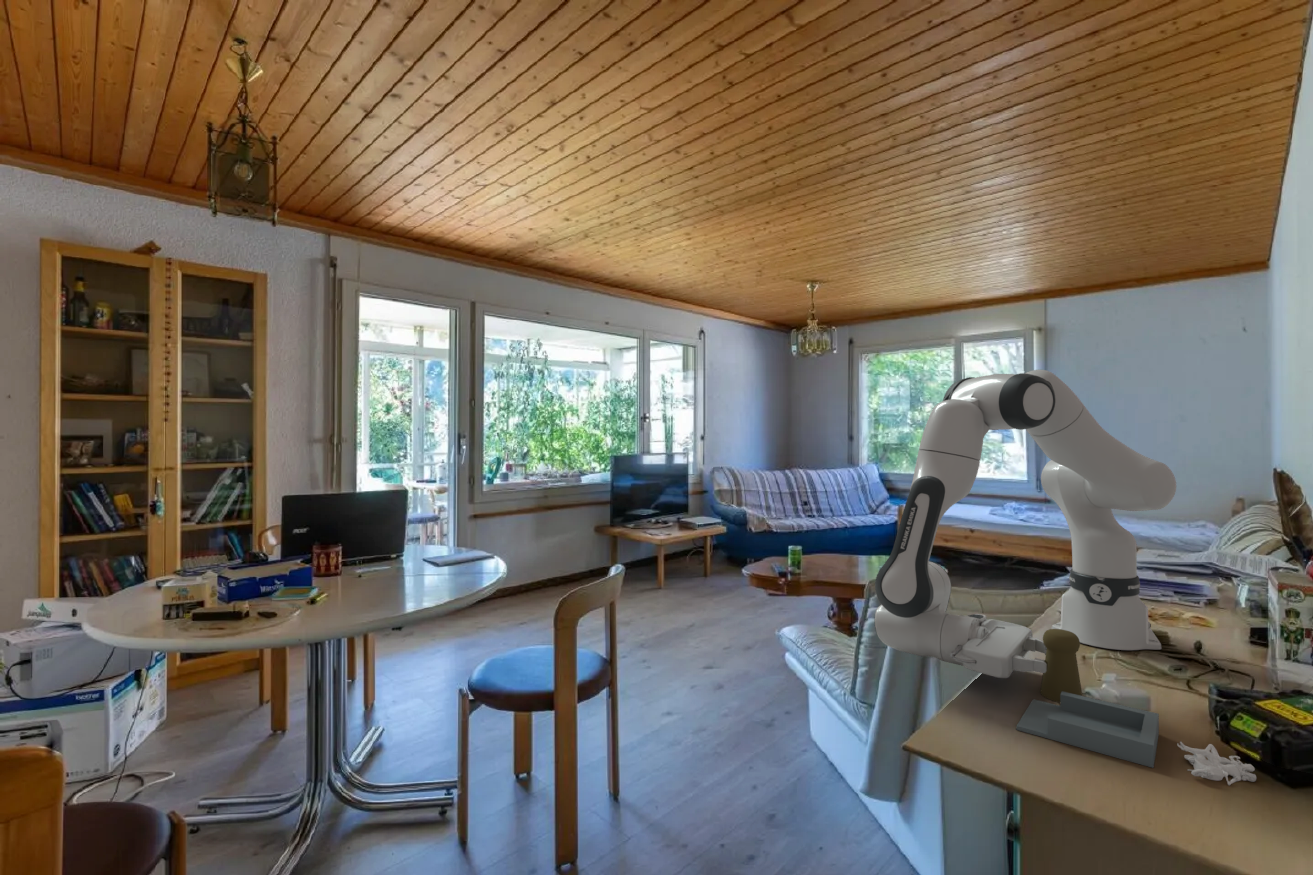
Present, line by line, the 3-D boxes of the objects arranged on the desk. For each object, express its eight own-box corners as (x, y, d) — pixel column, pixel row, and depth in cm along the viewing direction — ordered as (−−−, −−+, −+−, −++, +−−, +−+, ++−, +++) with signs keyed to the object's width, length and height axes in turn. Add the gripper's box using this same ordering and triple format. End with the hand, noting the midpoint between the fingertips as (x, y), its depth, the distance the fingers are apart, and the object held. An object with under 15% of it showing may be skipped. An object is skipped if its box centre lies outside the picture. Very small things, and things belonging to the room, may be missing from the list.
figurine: (1250, 772, 81) (1268, 800, 75) (1174, 754, 86) (1185, 779, 79) (1251, 749, 81) (1268, 774, 75) (1175, 732, 86) (1185, 755, 79)
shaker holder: (1033, 702, 101) (1033, 684, 101) (1158, 733, 90) (1158, 713, 90) (1016, 729, 92) (1016, 709, 92) (1153, 767, 81) (1153, 745, 81)
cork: (1090, 705, 100) (1089, 637, 100) (1049, 702, 101) (1048, 635, 101) (1072, 689, 106) (1072, 626, 106) (1034, 687, 107) (1034, 624, 107)
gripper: (946, 638, 106) (1039, 657, 97) (979, 611, 121) (1062, 625, 112) (946, 675, 106) (1040, 697, 97) (979, 643, 121) (1063, 660, 112)
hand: (1052, 658), depth 104 cm, fingers open, 8 cm apart
